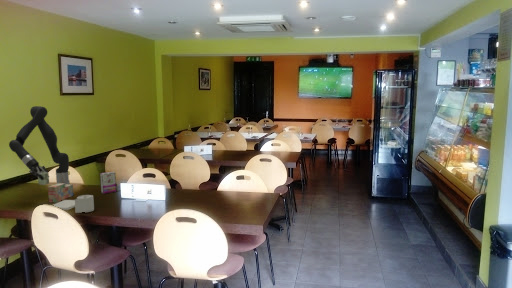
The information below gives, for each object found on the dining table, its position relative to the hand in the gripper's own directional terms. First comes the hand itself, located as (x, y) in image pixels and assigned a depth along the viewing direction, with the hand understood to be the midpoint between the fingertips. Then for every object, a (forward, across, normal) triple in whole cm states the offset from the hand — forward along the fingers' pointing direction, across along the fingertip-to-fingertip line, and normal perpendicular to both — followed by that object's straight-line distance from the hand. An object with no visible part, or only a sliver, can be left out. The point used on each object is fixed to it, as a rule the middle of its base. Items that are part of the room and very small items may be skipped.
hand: (45, 178), depth 308 cm
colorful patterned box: (+13, +17, +15) cm, 27 cm away
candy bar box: (+31, +43, -2) cm, 53 cm away
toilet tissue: (+41, -10, -12) cm, 44 cm away
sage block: (+2, 0, +4) cm, 5 cm away
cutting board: (+25, 0, +3) cm, 25 cm away
